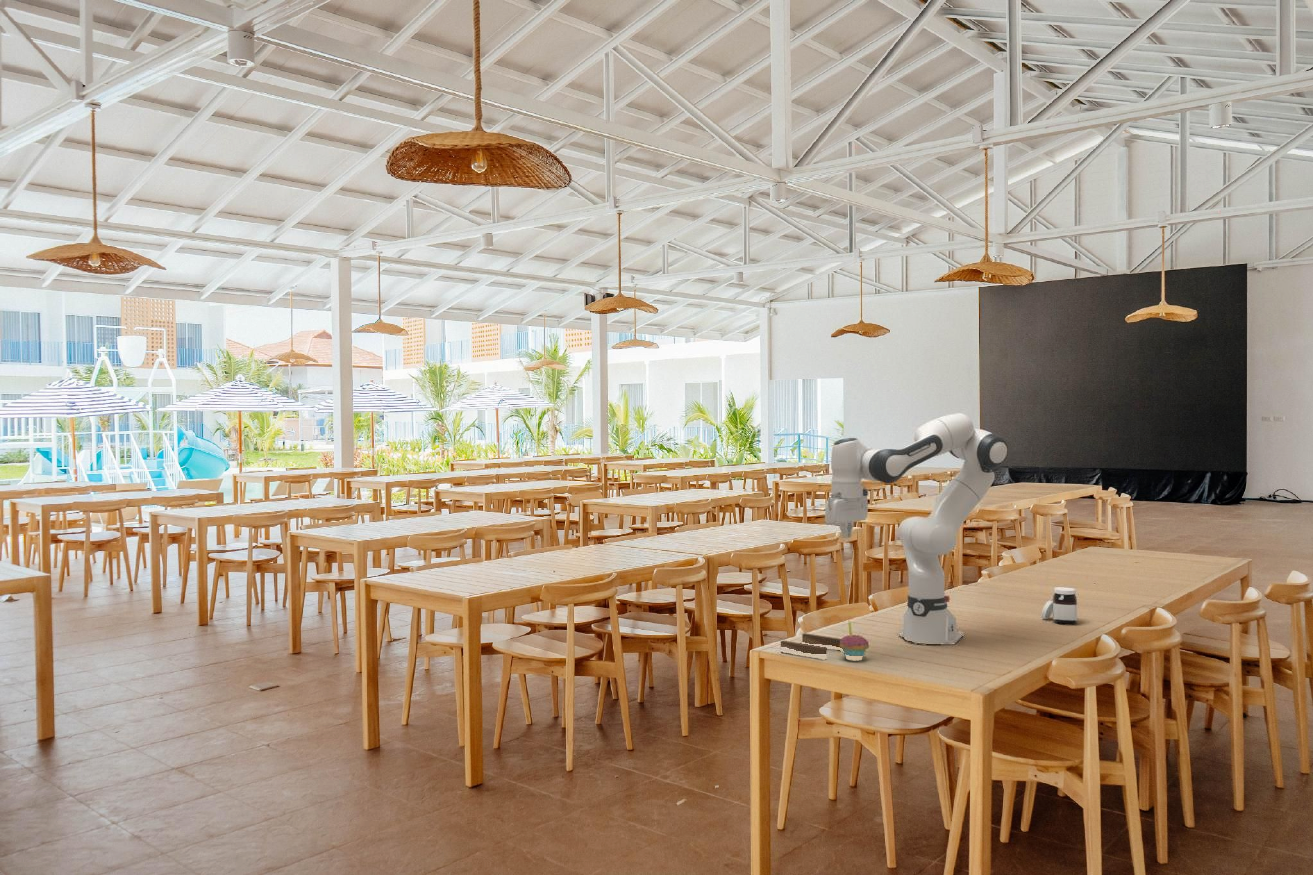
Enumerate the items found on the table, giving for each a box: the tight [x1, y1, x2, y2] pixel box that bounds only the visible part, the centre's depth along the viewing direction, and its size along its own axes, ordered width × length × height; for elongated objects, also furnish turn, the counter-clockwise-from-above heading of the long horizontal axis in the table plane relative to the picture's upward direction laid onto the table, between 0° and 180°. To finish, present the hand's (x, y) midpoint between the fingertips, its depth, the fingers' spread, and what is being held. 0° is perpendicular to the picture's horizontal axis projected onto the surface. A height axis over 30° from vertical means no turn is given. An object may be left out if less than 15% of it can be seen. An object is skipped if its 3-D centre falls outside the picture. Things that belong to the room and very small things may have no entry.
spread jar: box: [1040, 586, 1078, 625], centre depth 335 cm, size 12×11×12 cm
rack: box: [780, 632, 842, 654], centre depth 296 cm, size 14×15×4 cm
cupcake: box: [840, 621, 870, 657], centre depth 286 cm, size 9×8×12 cm
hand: (846, 537), depth 293 cm, fingers closed
